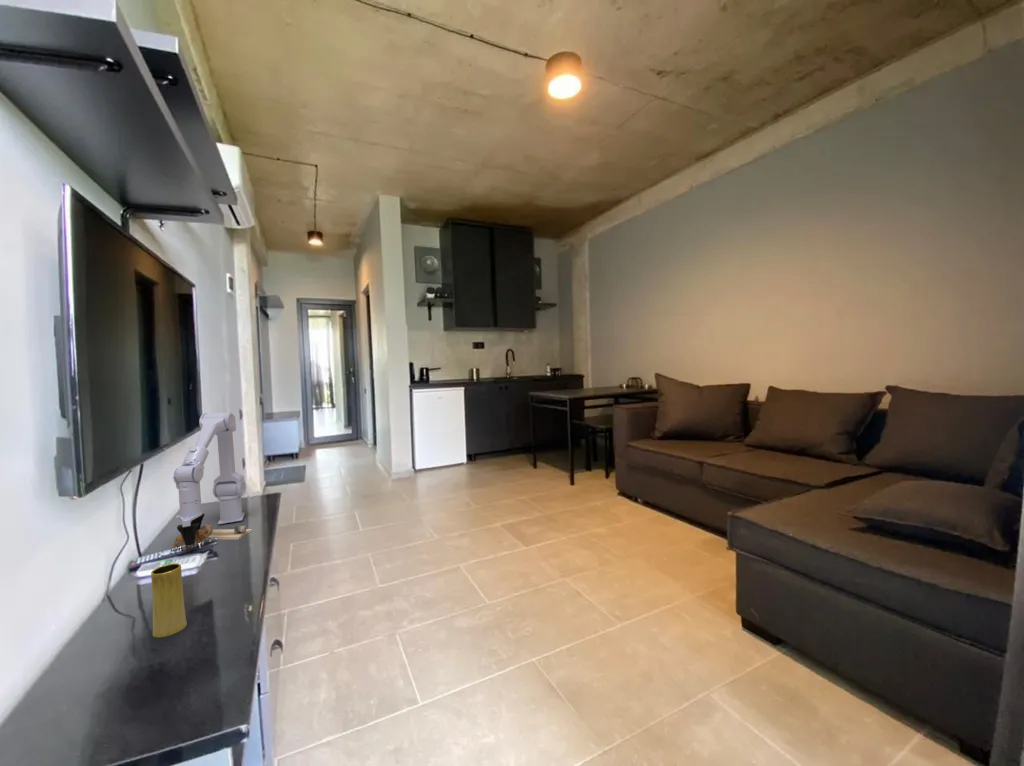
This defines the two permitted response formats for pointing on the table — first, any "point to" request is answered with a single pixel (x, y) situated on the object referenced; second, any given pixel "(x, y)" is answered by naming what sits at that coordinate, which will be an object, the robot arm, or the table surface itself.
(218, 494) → the robot arm
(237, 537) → the shaft rig
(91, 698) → the table surface
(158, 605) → the vase
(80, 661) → the table surface
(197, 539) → the lion figurine
